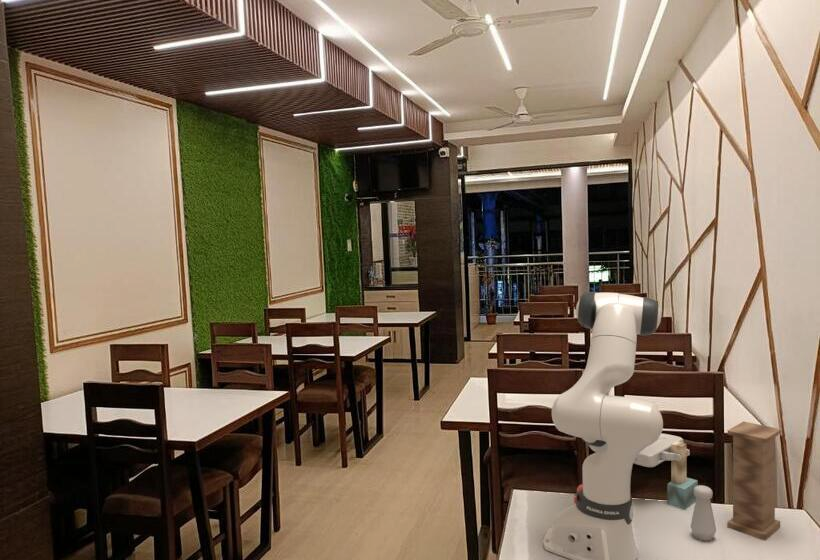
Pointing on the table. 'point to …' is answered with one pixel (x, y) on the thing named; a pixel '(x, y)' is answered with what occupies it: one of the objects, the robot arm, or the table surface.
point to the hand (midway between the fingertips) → (684, 455)
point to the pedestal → (754, 480)
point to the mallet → (680, 480)
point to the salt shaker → (703, 514)
